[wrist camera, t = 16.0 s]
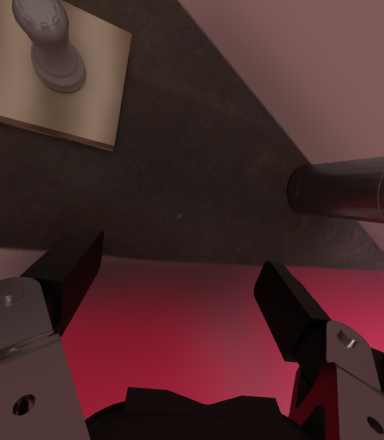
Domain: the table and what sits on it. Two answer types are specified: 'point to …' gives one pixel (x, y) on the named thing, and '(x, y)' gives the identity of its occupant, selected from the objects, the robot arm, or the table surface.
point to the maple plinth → (65, 101)
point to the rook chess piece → (50, 43)
